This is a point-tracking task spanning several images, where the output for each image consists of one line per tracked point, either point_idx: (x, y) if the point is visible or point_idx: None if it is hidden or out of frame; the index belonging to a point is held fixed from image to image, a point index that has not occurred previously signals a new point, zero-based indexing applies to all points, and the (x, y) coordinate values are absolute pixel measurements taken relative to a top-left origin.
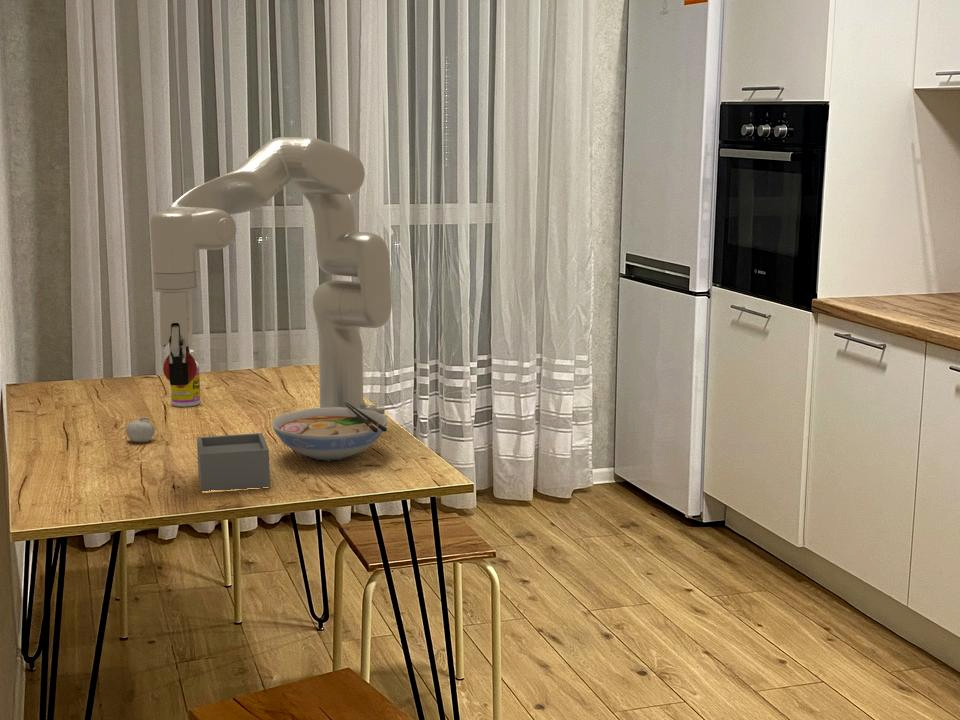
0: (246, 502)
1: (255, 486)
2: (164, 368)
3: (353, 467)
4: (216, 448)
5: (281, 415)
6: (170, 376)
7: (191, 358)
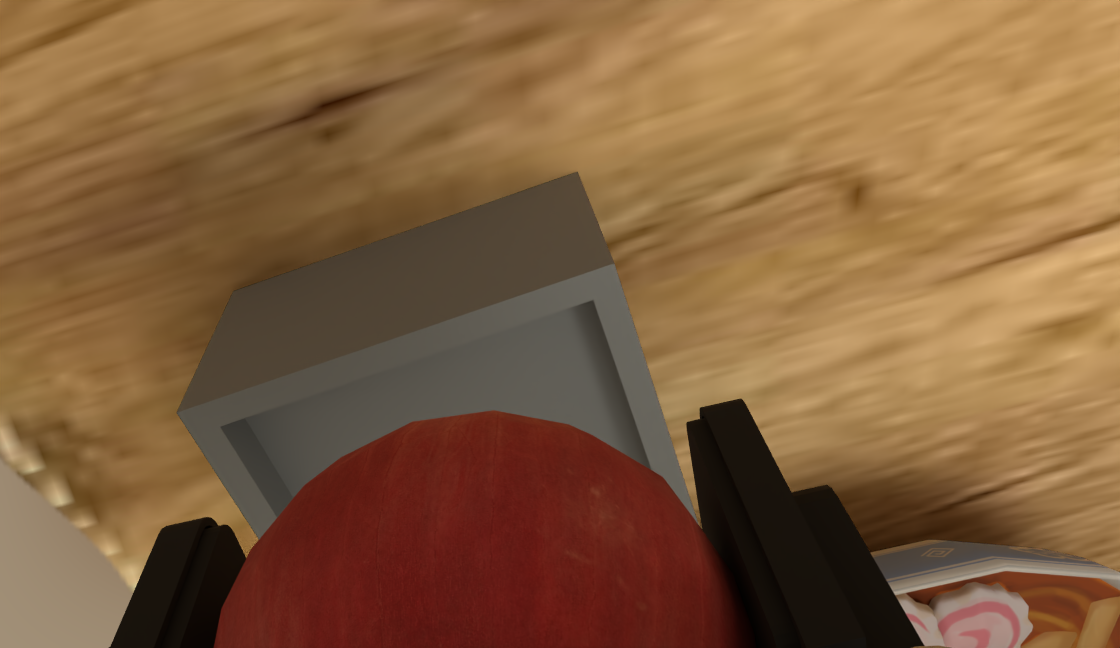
0: (154, 513)
1: None
2: (282, 558)
3: None
4: (528, 378)
5: (1107, 578)
6: (129, 622)
7: None
